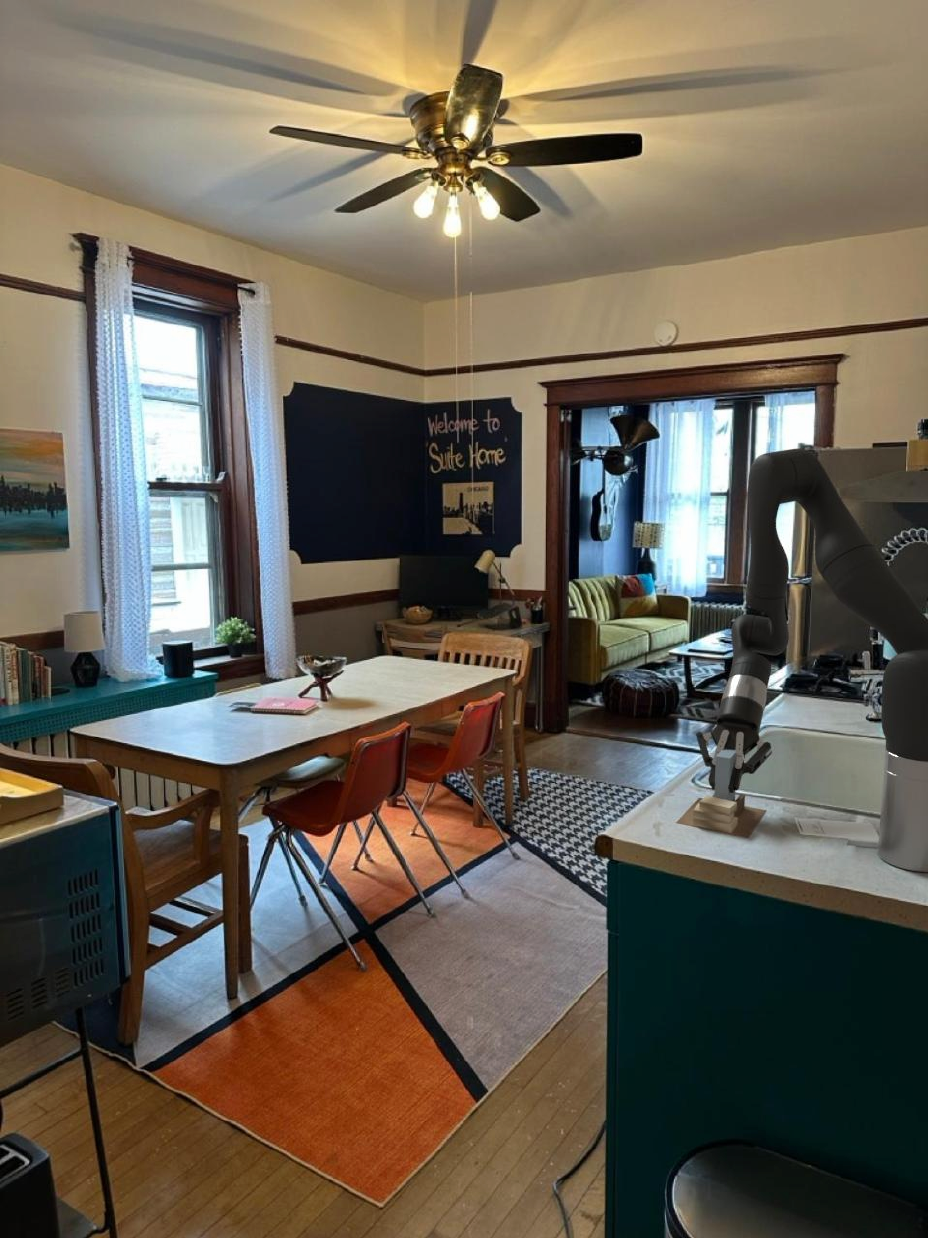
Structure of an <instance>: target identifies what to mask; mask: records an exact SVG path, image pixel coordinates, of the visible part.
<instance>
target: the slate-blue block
mask: <svg viewBox="0 0 928 1238" xmlns="http://www.w3.org/2000/svg"><path fill="white" fill-rule="evenodd" d="M735 754H736V752H735V750H730V749H724V750H721V751H720V753H719V754H718V755H717V756H716V767H715V790H714V793H713V795H714V797H716V798H720V799H725V800H729V801H734V802H735V800H736V792H737V790H735V792H734V793H730V791H729V789H728V786H729V783H730V779H731V774H732V770H733V769H734V767H735Z"/></svg>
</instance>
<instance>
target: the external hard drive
mask: <svg viewBox="0 0 928 1238" xmlns="http://www.w3.org/2000/svg"><path fill="white" fill-rule="evenodd" d="M793 819H794V821H795V823H796V827H797V829H798V831H799V833H800V835H804V836H805V835H807V836H808V835H809V836H817V837H827V838H839V839H846V840H847V839H848V840H847V844H846V846H855V847H862V848H863V847H866V848H874V849H875V848H876V849H878V840H879V833H878V831H877V830H876V828H875V827H874V825H873V824H872V823H867V822H866V823H865V822H855V821H843V820H841V821H840V820H829V819H816V818H804V817H793ZM799 824H800V825H799ZM800 826H801V827H800Z"/></svg>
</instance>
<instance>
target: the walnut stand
mask: <svg viewBox="0 0 928 1238" xmlns="http://www.w3.org/2000/svg"><path fill="white" fill-rule="evenodd" d="M711 797H714V794H713V795H712V796H711ZM703 798H704V797H698V798H697V799H696V801H695V802H694V803H693V804H691V806H690V807H689V808H688V809H687V810H686V811H685V812H684V814H682V816H680V818H679V819H678V820H677V821H676V822H675V823H676V824H678V825H679V824H680V825H684V826H689V827H692V828H693V827H694V828H698V829H702V830H709V831H713V832H717V833H723V834H728V835H731V836H732V835H733V836H737V837H740V838H741V837H742V838H745V839H749V838H750V836H751V835H752V834H753V832H754V831H755V829H756V827H757V826H758V825H759V823H760V822H761V820H762V818H763V817H764V816H765V814H766V812H767V809H762V808H756V807H750V806H746V805H745V803H746V794H742V793H740V794H739V795H738V797H737V798H735V802H737V810H736V811H735V812H734V817H738V823H737V826H736V828H735V829H734V831H733V832H732V833H728V832H723V831H718V830H713V829H708V828H703V827H699V826H694V825H693V810H694V809H695V807H696V805H697V804H698V803H699V801H700V800H702V799H703Z"/></svg>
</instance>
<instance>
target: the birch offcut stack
mask: <svg viewBox="0 0 928 1238" xmlns="http://www.w3.org/2000/svg"><path fill="white" fill-rule="evenodd" d="M702 798H703V799H702V800H700V801H699V803H698V804H697V805H696V807H695V809H694V810H693V825H694V826H699V827H703V828H708V829H713V830H718V831H723V832H728V833H732V832H733V831H734V829H735V828H736V826H737V823H738V817H734V812H735V811H736V810H737V802H734V801H729V800H725V799H720V798H716V797H712V796H710V795H706V796H704V797H702Z"/></svg>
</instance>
